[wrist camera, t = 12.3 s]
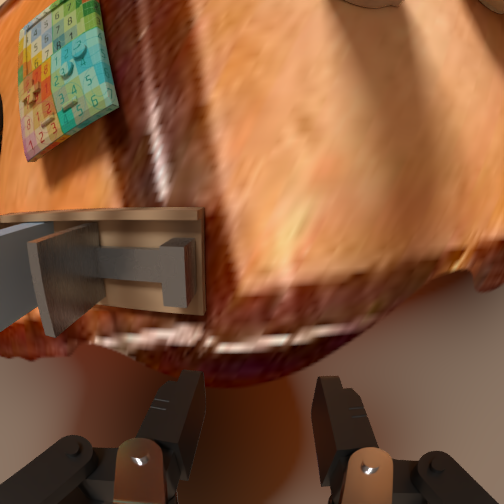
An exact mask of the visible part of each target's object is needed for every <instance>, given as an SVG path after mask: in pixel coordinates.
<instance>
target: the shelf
mask: <svg viewBox="0 0 504 504" xmlns="http://www.w3.org/2000/svg"><path fill="white" fill-rule="evenodd" d="M35 221H53V222H54V233H56V232H59V231H62V230H66V229H69V228H72V227H75V226H79V225H82V224H85V223H91V222H98V231H99V244H100V246H119V247H147V248H159V246H161V245H162V244H164V243H165V242H167V241H168V240H170V239H171V238H173V237H179V238H195V261H196V290H197V292H196V294H195V296H194V297H193V299H192V301H191V302H190V304H189V305H188V307H187V308H179V307H167V306H164V305H163V294H162V283H158V282H145V281H132V280H120V279H108V278H103V280H104V288H105V294H106V297H104V298H103V299H102V300H101V301H99V302H98V303H97V304H99V305H106V306H114V307H122V308H130V309H139V310H148V311H157V312H168V313H179V314H190V315H204V313H205V311H206V296H205V257H204V207H141V208H99V209H73V210H53V211H36V212H22V213H9V214H5V215H0V229H4V228H7V227H11V226H14V225H18V224H22V223H26V222H35Z"/></svg>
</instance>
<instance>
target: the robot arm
mask: <svg viewBox="0 0 504 504" xmlns="http://www.w3.org/2000/svg"><path fill="white" fill-rule="evenodd" d="M345 1H347V2H349V3H352V4H355V5H358V6H362V7H367V8H381V7H385V6H388V5H393V6H396V7H399V6H400V4H401V3H402V2H403V1H404V0H345ZM205 411H206V396H205V384H204V374H203V372H200V371H191V370H182V372H181V374H180V377H179V379H178V381H177V382H174V381H168V382H166V383H165V384H164V385H163V386H161V387H160V388H159V390H158V392H157V394H156V396H155V398H154V400H153V402H152V404H151V408H149V410H148V412H147V415H146V416H145V419H144V421H143V423H142V425H141V427H140V429H139V431H138V433H137V435H136V437H135V438H133V439H130V440H127V441H125V442H124V443H123V444H122V445H121V446H120V447H119V448H94V447H92V445H91V444H90V442H89V441H88V440H87V439H85V438H83V437H81V436H77V435H70V436H66V437H63V438H61V439H60V440H58V441H57V442H56V443H55V444H53V445H52V446H51V447H49V448H48V449H47V450H46V451H45V452H43V453H42V454H40V455H39V456H38V457H36V458H35V459H34V460H33V461H31V462H30V463H29V464H27V465H26V466H25V467H23V468H22V469H21V470H19V471H18V472H17V473H15V474H14V475H13V476H11V477H10V478H9V479H7V480H6V481H5V482H3V483H2V484H0V504H178V497H177V491H176V489H177V486H178V482H179V479H180V480H186V481H188V479H189V475H190V471H191V468H192V464H193V459H194V456H195V452H196V448H197V444H198V440H199V436H200V432H201V428H202V424H203V421H204V417H205ZM311 419H312V426H313V433H314V439H315V446H316V453H317V460H318V467H319V475H320V482H321V487H323V486H330V488H331V496H330V497H329V500H328V504H498V503H497V502H496V501H495V500H494V499H493V498H492V497H491V496H490V495H489V494H488V493H487V492H486V491H485V490H484V489H483V488H482V487H481V486H480V485H479V484H478V483H477V482H476V481H475V480H474V479H473V478H472V477H471V476H470V475H469V474H468V473H467V472H466V471H465V470H464V469H463V468H462V467H461V466H460V465H459V464H458V463H457V462H456V461H455V460H454V459H453V458H452V457H450V455H448V454H447V453H444V452H441V451H431V452H428V453H426V454H425V455H423V456H422V457H421V458H420V460H419V461H406V460H395V459H392V458H391V457H390V455H389V454H388V453H387V452H385V451H383V450H382V449H379V447H378V445H377V442H376V439H375V436H374V434H373V431H372V428H371V425H370V422H369V420H368V417H367V414H366V411H365V409H364V406H363V403H362V400H361V398H360V396H359V395H358V394H357V393H356V392H355V391H354V390H353V389H352V388H347V389H343V387H342V384H341V381H340V378H339V377H338V376H321V377H318V379H317V383H316V388H315V393H314V399H313V403H312V409H311Z"/></svg>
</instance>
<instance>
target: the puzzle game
mask: <svg viewBox="0 0 504 504" xmlns="http://www.w3.org/2000/svg"><path fill="white" fill-rule="evenodd" d="M18 92H19V109H20V120H21V130H22V138H23V145H24V152H25V156H26V158H27V161H28V162H35V161H37V160H38V159H39V158H41V157H42V156H43V155H45V154H46V153H47V152H49V151H50V150H52V149H53V148H54V147H56V146H57V145H59V144H60V143H61V142H63V141H64V140H66V139H67V138H69V137H70V136H72V135H73V134H75V133H76V132H78V131H80V130H81V129H83V128H84V127H86V126H88V125H89V124H91V123H92V122H94V121H96V120H97V119H99V118H101V117H103V116H104V115H106V114H108V113H110V112H111V111H113V110H115V109H117V108H119V103H118V99H117V95H116V91H115V86H114V82H113V77H112V73H111V68H110V63H109V58H108V53H107V47H106V42H105V36H104V30H103V24H102V17H101V10H100V3H99V0H57V1H55V2H54V3H53V4H51V5H50V6H49V7H47V8H46V9H45V10H44V11H42V12H41V13H40V14H39V15H37V16H36V17H35V18H34V19H33V20H31V21H30V22H29V23H28V24H27V25H26V26H25V27H24V28H22V29H21V30H20V36H19V52H18Z"/></svg>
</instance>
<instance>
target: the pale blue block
mask: <svg viewBox="0 0 504 504" xmlns="http://www.w3.org/2000/svg"><path fill="white" fill-rule="evenodd" d="M53 233H54V222H53V221H35V222H26V223H22V224H18V225H14V226H11V227H7V228H4V229H0V332H1V331H2V330H4V329H5V328H7V327H8V326H9V325H11V324H12V323H14V322H15V321H17V320H18V319H20V318H21V317H23V316H24V315H26V314H27V313H29V312H30V311H32V310H33V309H35V308H36V307H38V304H37V300H36V295H35V290H34V286H33V280H32V275H31V269H30V263H29V256H28V249H27V242H29V241H32V240H35V239H38V238H41V237H44V236H47V235H50V234H53Z"/></svg>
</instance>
